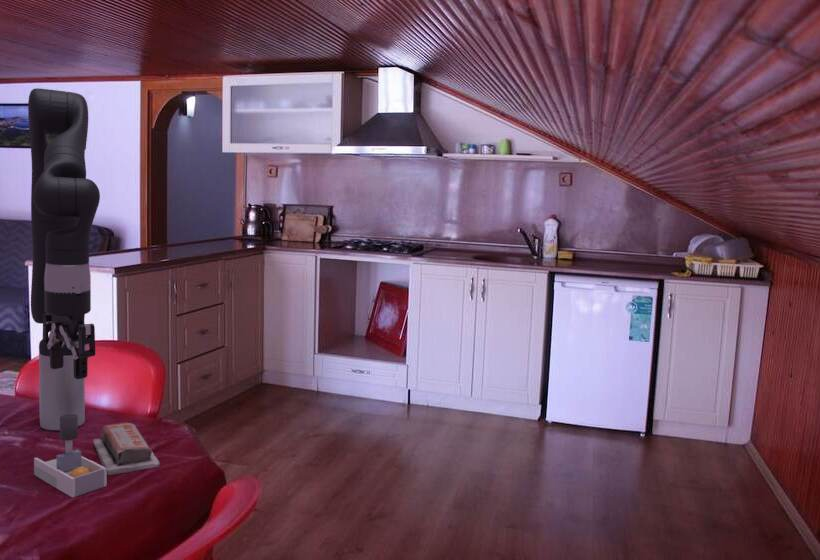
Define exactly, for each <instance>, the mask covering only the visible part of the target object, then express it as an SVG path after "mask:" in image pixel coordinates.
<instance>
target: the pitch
mask: <svg viewBox="0 0 820 560" xmlns="http://www.w3.org/2000/svg"><path fill="white" fill-rule="evenodd" d="M89 460H90V459H88V458H86V457H84V456H83V455H81V467H86V468H87V469H88V461H89ZM74 469H75V468H74ZM74 469H71V470H68V471H65V472H64V473H66V474H68V475H70V474H71V472H72V471H73V470H74ZM57 470H58V469H57V461H56V458H54V459H50V460H47V461H44V460H42V459H41V458H38V457H33V472H34V473H33V474H34V476H35V477H37V478H38V479H41V480H42V481H43V482H44V483H47V484H48V485H50V486H51V487H54V488H55V489H57Z"/></svg>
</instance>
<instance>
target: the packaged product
mask: <svg viewBox="0 0 820 560" xmlns="http://www.w3.org/2000/svg"><path fill="white" fill-rule="evenodd" d="M92 442H93V446H94V448H95V450H96V453H97V456H98V459H99V461H100V463H101V466H103V467H105V468H107V476H113V475H118V474H125V473H131V472H136V471H142V470H146V469H154V467H155V468H159V467H160V461H159V459H158V457H156V455H155V454H154V452H153V451H152V449H151V447H150V446H149V444H148V442H147V441H146V439H145V438H144V437H143V435H142V434H141V432H140V430H139V428H137V426H136V424H134V423H131V422H120V423H113V424H106V425H103V427H102V432H101V437H100V438H95V439H93V440H92Z"/></svg>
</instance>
